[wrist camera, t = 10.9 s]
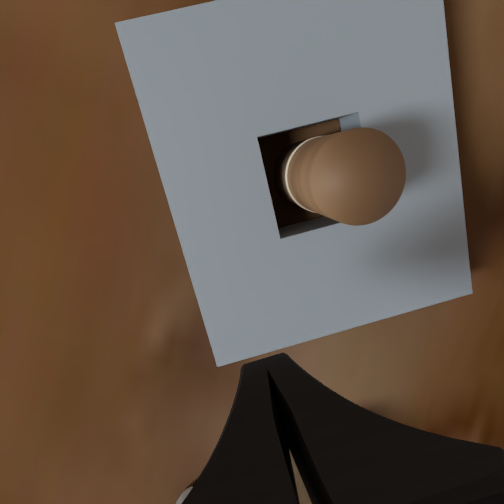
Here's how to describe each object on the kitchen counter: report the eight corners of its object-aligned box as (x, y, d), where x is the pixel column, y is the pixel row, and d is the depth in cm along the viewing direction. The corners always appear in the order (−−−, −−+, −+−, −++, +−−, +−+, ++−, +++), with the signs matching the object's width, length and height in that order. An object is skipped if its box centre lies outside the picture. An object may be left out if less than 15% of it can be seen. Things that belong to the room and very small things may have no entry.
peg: (329, 131, 20) (396, 112, 13) (345, 195, 21) (415, 209, 14) (266, 151, 20) (301, 143, 13) (284, 215, 20) (326, 239, 14)
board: (407, -21, 19) (438, -49, 16) (443, 279, 23) (472, 293, 20) (126, 42, 18) (114, 22, 15) (215, 344, 22) (217, 367, 19)
